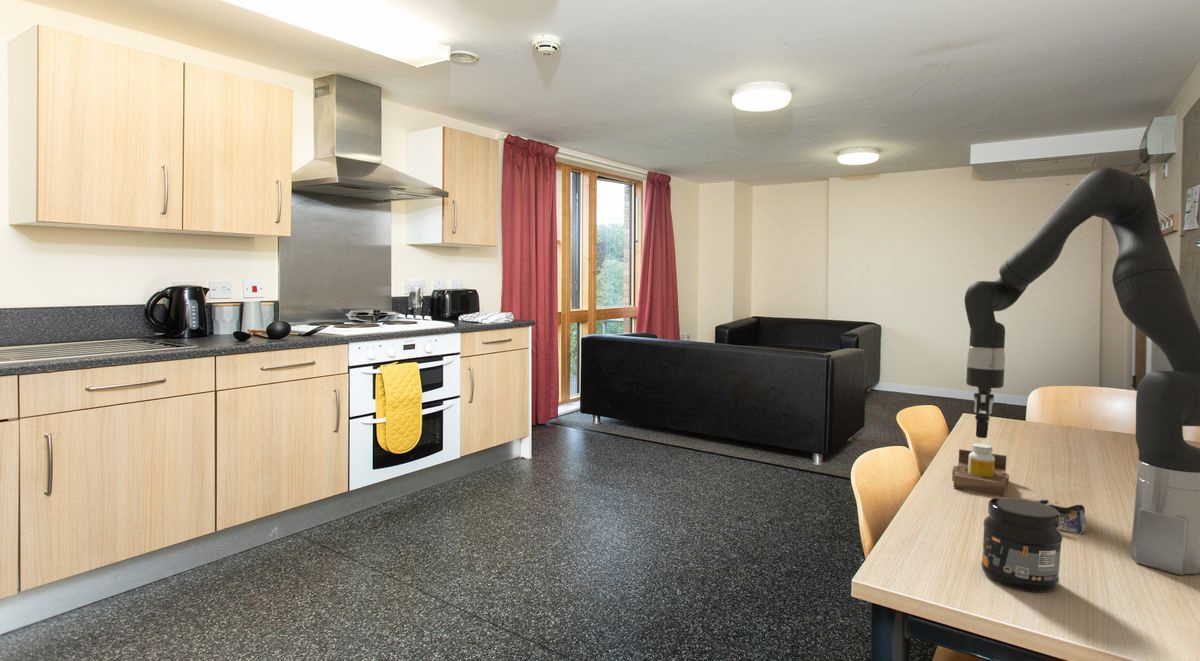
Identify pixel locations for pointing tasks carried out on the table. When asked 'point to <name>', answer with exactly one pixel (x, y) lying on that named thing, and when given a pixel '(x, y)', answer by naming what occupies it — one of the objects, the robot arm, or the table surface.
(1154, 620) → the table surface
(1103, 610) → the table surface
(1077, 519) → the snack package
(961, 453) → the brown bottle holder
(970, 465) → the supplement bottle
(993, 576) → the supplement container
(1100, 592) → the table surface
